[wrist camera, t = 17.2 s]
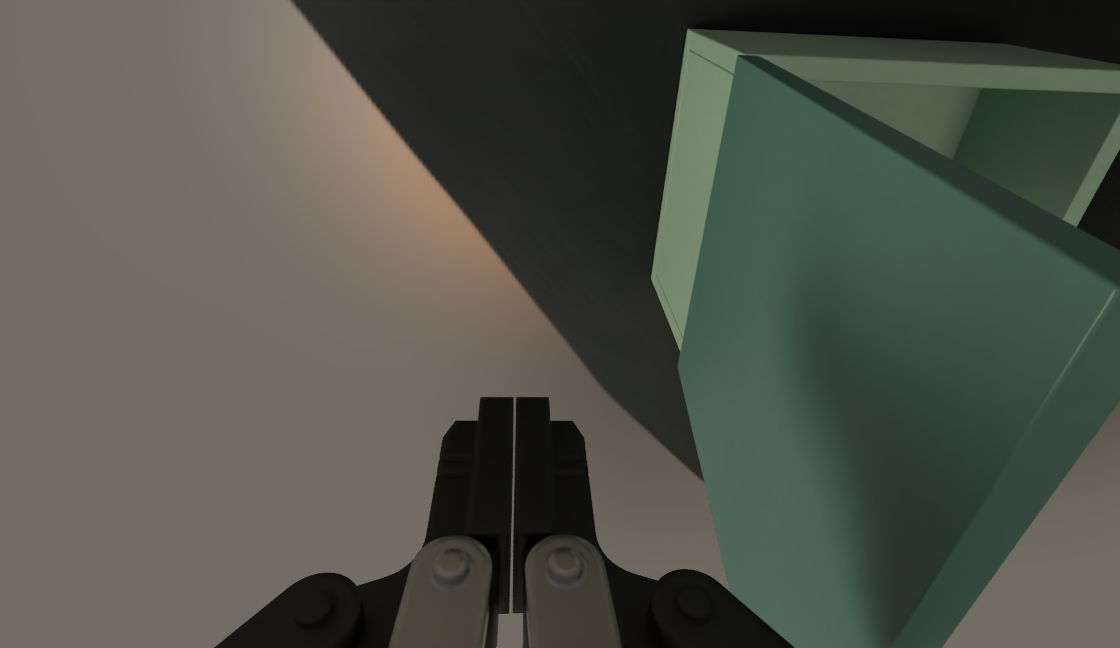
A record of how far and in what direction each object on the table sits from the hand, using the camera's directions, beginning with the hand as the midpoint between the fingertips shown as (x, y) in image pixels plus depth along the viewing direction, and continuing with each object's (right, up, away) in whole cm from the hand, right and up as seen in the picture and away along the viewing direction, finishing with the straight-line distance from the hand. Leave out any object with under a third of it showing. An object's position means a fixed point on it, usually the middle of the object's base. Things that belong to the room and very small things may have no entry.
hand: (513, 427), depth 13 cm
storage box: (+14, +10, +18) cm, 25 cm away
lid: (+7, +1, +3) cm, 8 cm away
